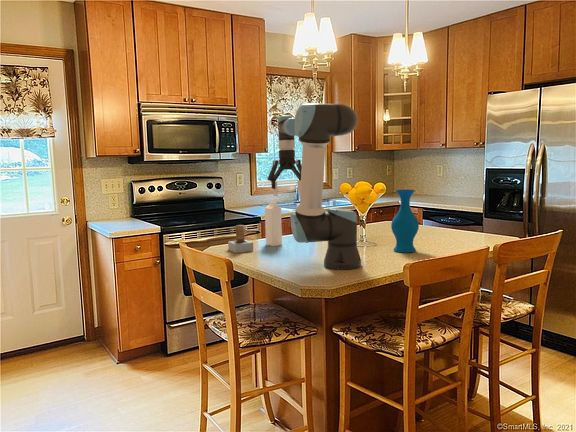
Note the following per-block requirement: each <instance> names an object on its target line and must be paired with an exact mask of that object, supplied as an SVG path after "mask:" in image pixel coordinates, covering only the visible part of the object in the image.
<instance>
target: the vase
mask: <svg viewBox="0 0 576 432" xmlns="http://www.w3.org/2000/svg"><path fill="white" fill-rule="evenodd" d="M415 191H416V190H414V189H397V190H395V192H396V193H397V194H398V196H399V198H400V207H399V209H398V211H397V213H396V214H395V215H394V217H393V219H392V220H391V224H390V225H391V226H390V227H391V231H392V234H393V236H394V238H395V240H396V244H395V246H394V248H393V251H394V252H396V253H405V254H407V253H413V252H416V250H417V249H416V247H415V246H414V239H415V237H416V235H417V234H418V231H419V224H420V223H419V221H418V218H417V216H415V214H414V213H413V210H412V209H411V205H410V204H411V203H410V202H411V198H412V195H413V194H414V193H415Z"/></svg>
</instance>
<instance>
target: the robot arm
mask: <svg viewBox="0 0 576 432" xmlns="http://www.w3.org/2000/svg"><path fill="white" fill-rule="evenodd" d="M277 119H278V120H277V129H278V131H277V133H278V149H279V150H278V159H279V160H278V159H274V160H272V166H271V169H270V171H269V174H268V177H267V181H268V182H271V184H270V185H271V189H272V192H273V193H272V195H273V196H274V197H278V196H279V195H278V194H279V193H278V181H277V180H278V178H279V176H280V175H281V174H282V172H283V171H285V170H286V171H287V170H291V171H292V172H293V174H294V175H295V177H296V178H297V183H296V187H297V194H298V195H299V204H298V205H297V206H296V207H295V213H292V214H290V218H289V220H290V227H291V228H290V229H291V232H292V233H291V234H292V236H293V239H294V240H295V241H296V242H297V243H299V244H300V243H301V244H302V243H305V244H308V243H319V242H321V243H322V242H327V249H326V253H325V256H324V259H323V266H324V267H325V268H327V269H333V270H354V269H355V270H356V269H358V268H361V267H362V259H361V256H360V252H359V250H358V246H357V245H358V241H357V240H358V233H357V232H358V220H357V219H358V218H357V213H356V212H355V211H354V210H352V209H348V208H347V209H345V208H337V207H329V208H327V209H325V208H324V207H323V206H322V205H323V191H324V176H325V164H326V163H325V162H326V161H325V160H326V149H327V148H326V147H327V146H328V144H330V143H331V137H339V136H340V137H341V136H346V135H349V134H350V133H352V132H354V130H356V128H357V126H358V123H359V119H358V114H357V112H356V111H355V109H353V108H352V107H351V106H349V105H347V104H344V103H316V102H315V103H313V102H311V103H303V104H301V105H300V106H299V107H298V108H297V111H296V112H295V117H294V116H293V115H279V116H278V118H277ZM295 137H298V142H299V143H300V144H301V145H302V153H301V154H302V155H301V159H295V158H296V150H295V148H296V143H295ZM278 165H279V166H278ZM295 165H296V166H295Z"/></svg>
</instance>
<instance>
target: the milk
mask: <svg viewBox="0 0 576 432" xmlns="http://www.w3.org/2000/svg"><path fill="white" fill-rule="evenodd" d="M264 218H265V219H264V221H265V222H264V223H265V224H264V225H265V245H266V246H269V245H270V247H277V246H282V245H283V231H282V230H283V227H282V224H283V223H282V207H281V206H279V205H277V201H271V200H270V201H269V204H268V205H267V206H266V207H264Z"/></svg>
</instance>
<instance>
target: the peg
mask: <svg viewBox="0 0 576 432" xmlns="http://www.w3.org/2000/svg"><path fill="white" fill-rule="evenodd" d="M245 240H246V238H245V225H244V224H236V225H235V241H236V243H237V244H238V243H245Z"/></svg>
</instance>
